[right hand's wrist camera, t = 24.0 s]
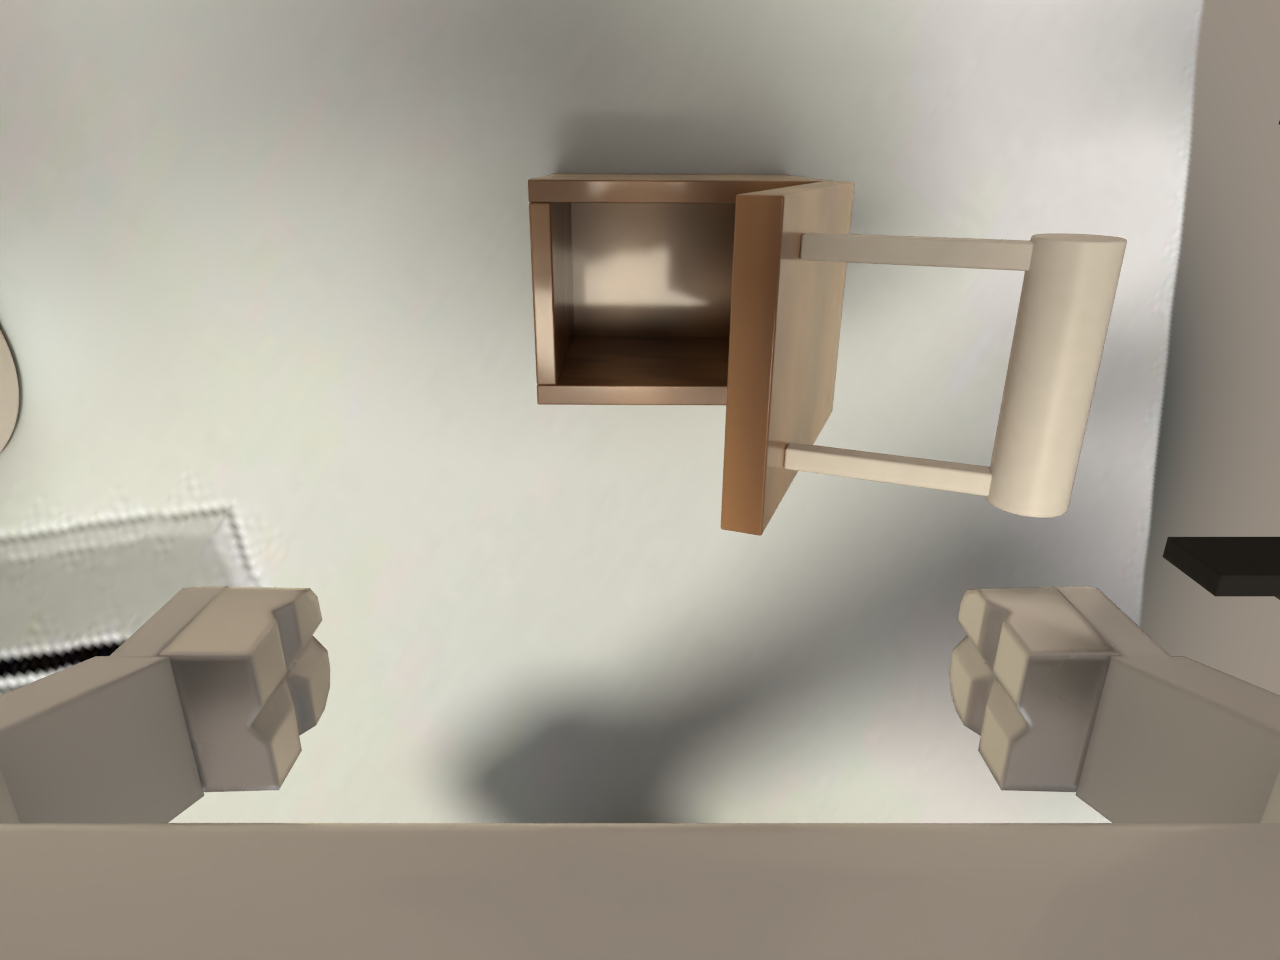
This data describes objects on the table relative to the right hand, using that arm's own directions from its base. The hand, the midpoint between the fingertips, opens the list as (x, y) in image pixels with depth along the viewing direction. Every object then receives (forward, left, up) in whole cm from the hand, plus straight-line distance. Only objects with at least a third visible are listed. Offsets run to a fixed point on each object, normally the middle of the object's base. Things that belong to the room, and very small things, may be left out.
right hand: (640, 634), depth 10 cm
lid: (+3, +3, -19) cm, 19 cm away
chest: (+1, +1, -36) cm, 36 cm away
